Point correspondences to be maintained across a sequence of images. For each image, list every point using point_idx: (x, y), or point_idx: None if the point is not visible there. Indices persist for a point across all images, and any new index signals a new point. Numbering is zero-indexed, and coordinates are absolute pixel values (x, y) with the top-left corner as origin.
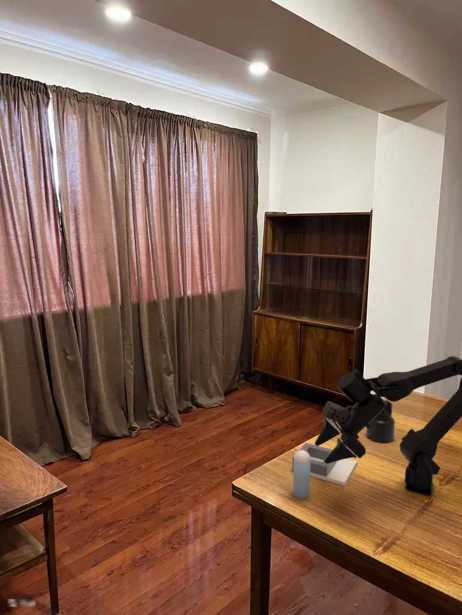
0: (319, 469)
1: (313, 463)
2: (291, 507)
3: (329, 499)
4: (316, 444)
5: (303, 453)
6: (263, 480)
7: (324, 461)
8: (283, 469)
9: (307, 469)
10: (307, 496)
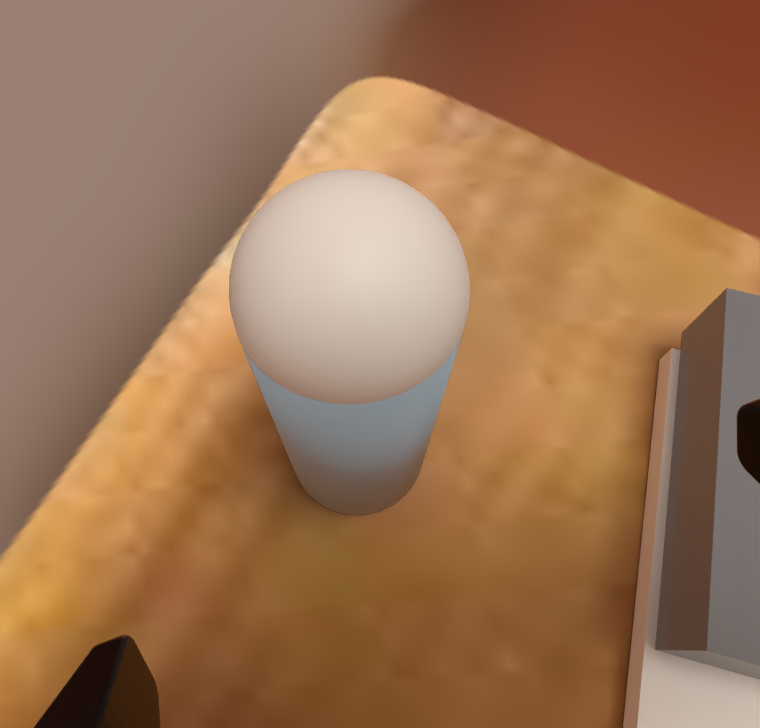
0: (686, 566)
1: (715, 491)
2: (171, 397)
3: (337, 700)
4: (747, 436)
5: (296, 249)
6: (454, 183)
7: (104, 642)
8: (649, 282)
9: (276, 409)
10: (315, 498)
